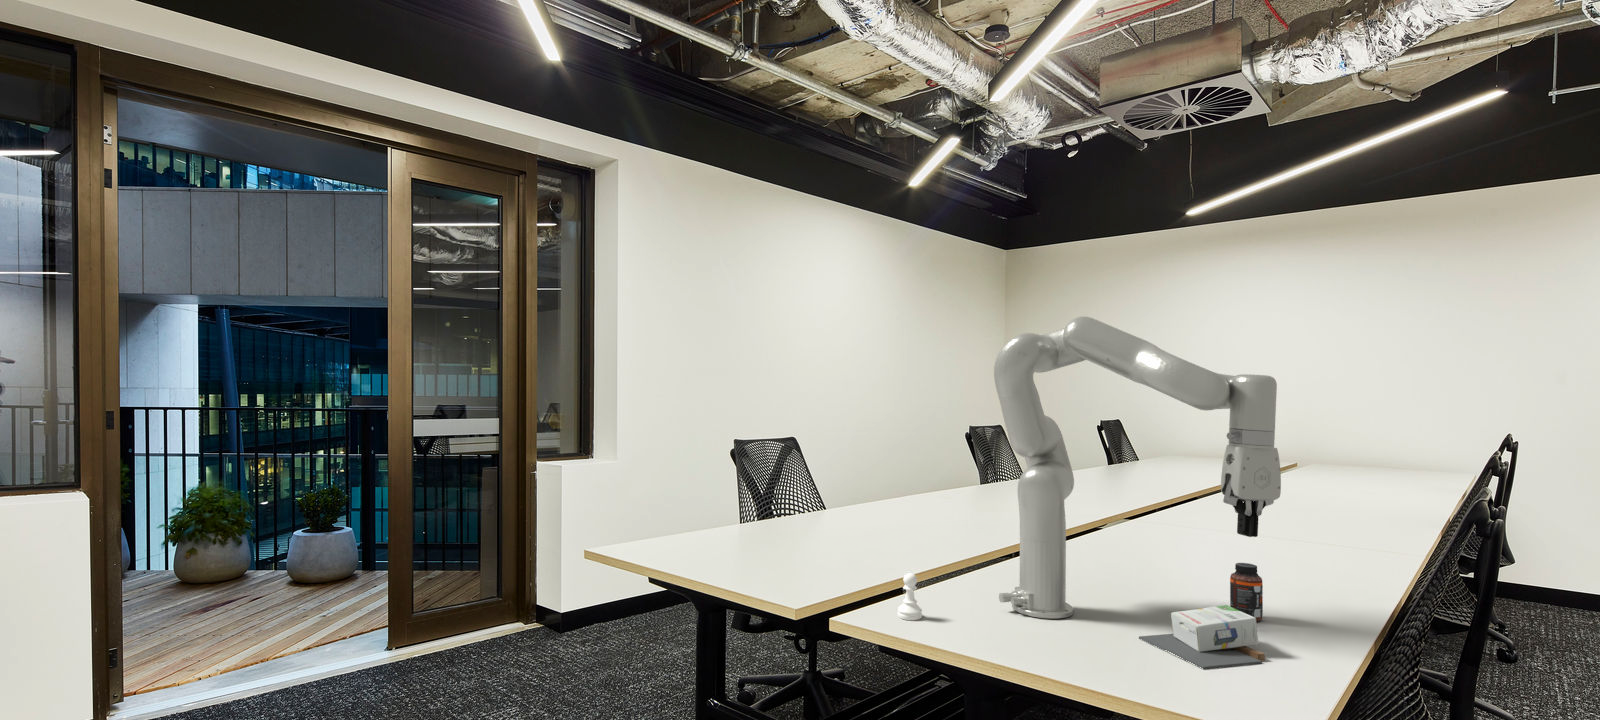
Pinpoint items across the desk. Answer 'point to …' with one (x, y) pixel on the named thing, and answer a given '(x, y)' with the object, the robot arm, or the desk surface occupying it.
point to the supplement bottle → (1247, 590)
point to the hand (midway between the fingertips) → (1247, 535)
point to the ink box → (1214, 628)
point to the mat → (1200, 653)
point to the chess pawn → (909, 600)
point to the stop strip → (1251, 652)
